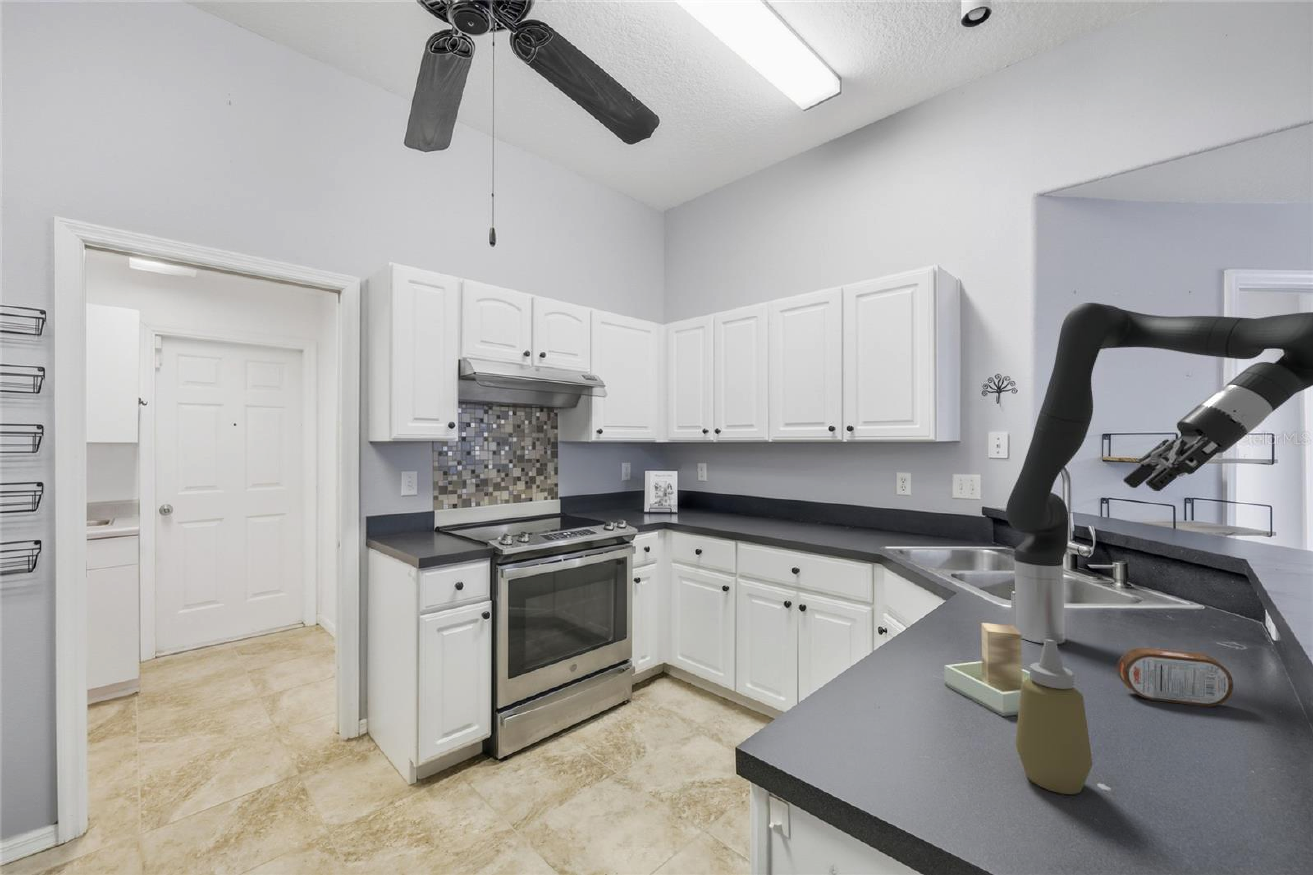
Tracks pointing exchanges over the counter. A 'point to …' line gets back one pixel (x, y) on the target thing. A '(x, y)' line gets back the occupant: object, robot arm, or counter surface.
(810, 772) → the counter surface
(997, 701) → the bin
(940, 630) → the counter surface
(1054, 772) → the squeeze bottle
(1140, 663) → the tin
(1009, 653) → the beech block
